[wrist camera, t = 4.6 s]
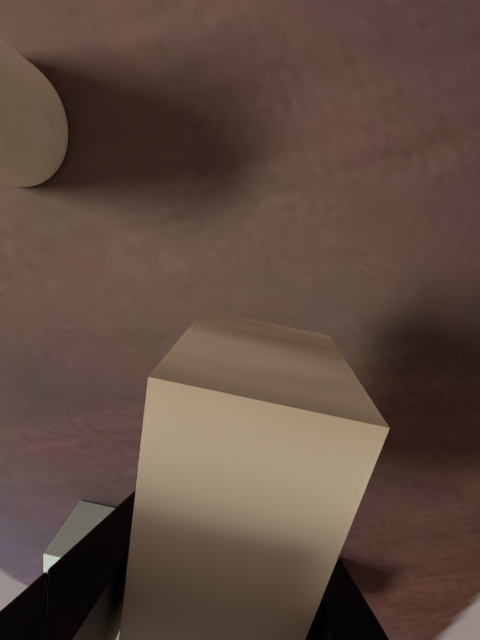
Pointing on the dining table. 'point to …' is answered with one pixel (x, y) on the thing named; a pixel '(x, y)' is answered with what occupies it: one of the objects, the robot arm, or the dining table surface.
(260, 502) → the tan wooden block
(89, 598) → the robot arm
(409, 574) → the dining table surface
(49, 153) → the candle
